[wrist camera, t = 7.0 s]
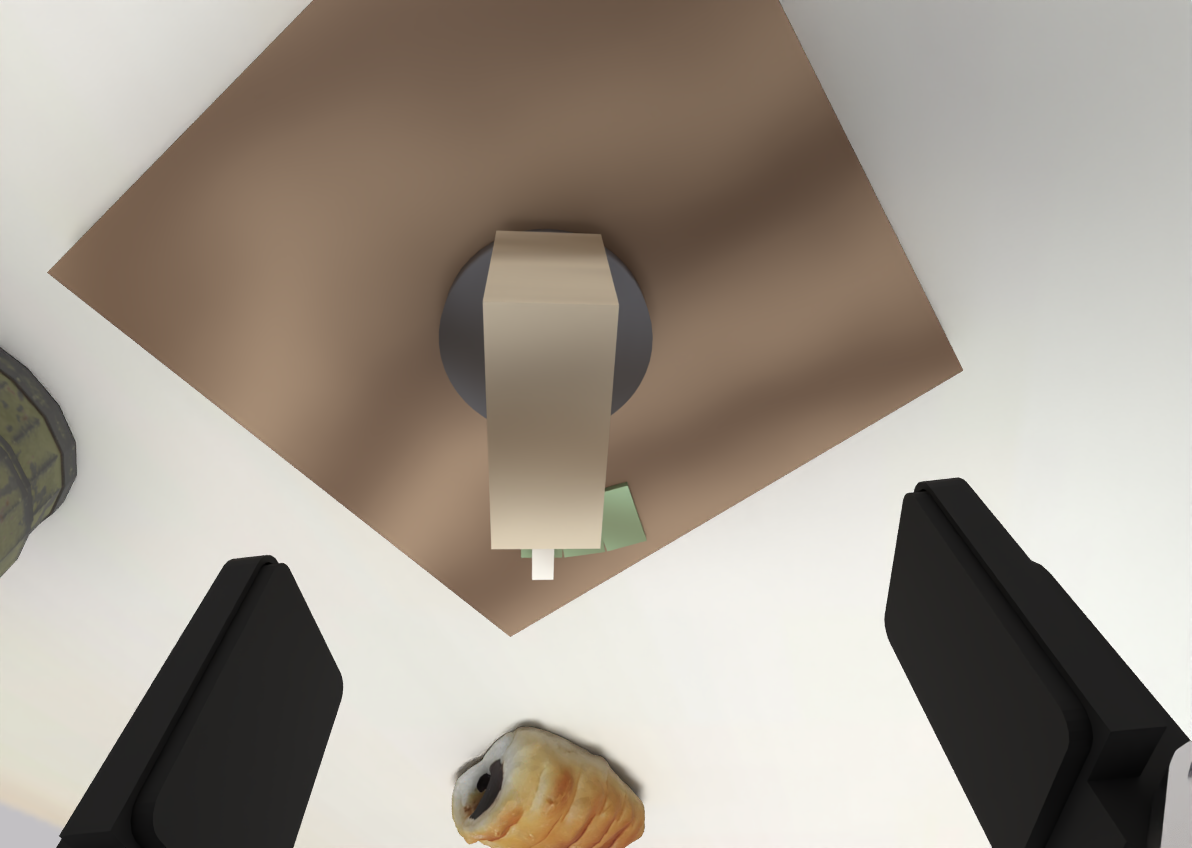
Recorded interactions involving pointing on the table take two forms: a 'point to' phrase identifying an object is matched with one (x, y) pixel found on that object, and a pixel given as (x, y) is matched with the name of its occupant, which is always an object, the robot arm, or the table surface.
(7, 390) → the thermos
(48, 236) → the table surface
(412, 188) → the wooden board
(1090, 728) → the robot arm
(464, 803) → the pastry
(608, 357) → the knob
